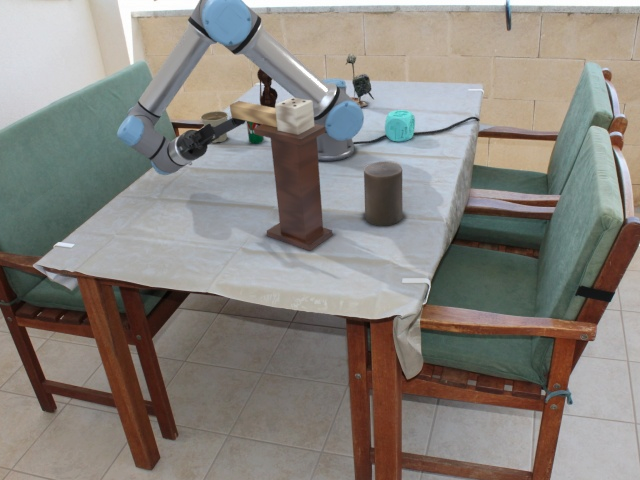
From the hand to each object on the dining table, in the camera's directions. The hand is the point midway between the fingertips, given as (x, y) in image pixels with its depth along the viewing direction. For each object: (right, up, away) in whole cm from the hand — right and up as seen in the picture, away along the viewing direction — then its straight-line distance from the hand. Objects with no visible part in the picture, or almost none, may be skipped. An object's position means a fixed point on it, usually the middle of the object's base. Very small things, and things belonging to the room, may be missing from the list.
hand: (231, 120), depth 158 cm
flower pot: (-14, +8, +65) cm, 67 cm away
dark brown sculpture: (+4, +18, +80) cm, 82 cm away
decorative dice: (+48, +7, +56) cm, 75 cm away
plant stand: (+16, -28, +4) cm, 33 cm away
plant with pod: (+36, +25, +86) cm, 97 cm away
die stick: (+10, -2, -8) cm, 13 cm away
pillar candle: (+38, -23, +10) cm, 46 cm away
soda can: (0, +6, +61) cm, 62 cm away
